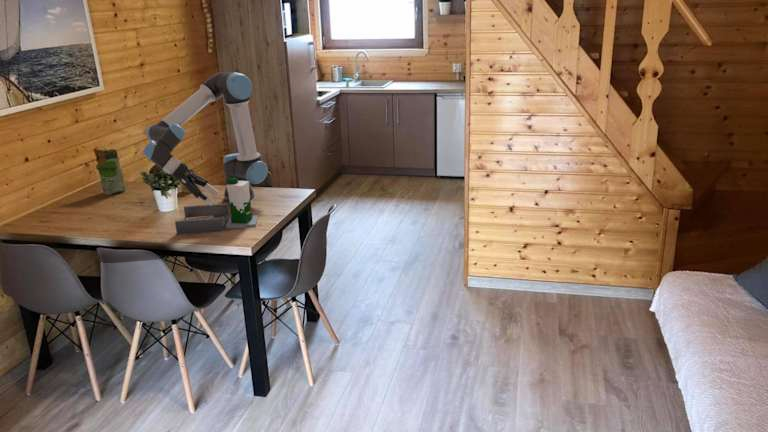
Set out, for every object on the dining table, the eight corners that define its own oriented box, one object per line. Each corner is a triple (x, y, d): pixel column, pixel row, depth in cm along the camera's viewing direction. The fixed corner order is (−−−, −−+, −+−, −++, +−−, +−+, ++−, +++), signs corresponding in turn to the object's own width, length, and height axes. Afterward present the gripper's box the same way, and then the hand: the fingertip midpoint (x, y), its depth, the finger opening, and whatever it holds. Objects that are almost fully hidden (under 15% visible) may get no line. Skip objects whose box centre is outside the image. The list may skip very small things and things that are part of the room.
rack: (186, 218, 299) (184, 206, 297) (229, 215, 301) (227, 203, 299) (177, 234, 278) (175, 221, 276) (223, 231, 280) (221, 218, 278)
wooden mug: (180, 187, 349) (175, 155, 343) (202, 188, 346) (198, 156, 340) (171, 192, 341) (166, 160, 335) (194, 193, 338) (189, 160, 332)
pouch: (127, 193, 343) (119, 147, 334) (103, 197, 337) (95, 151, 328) (123, 188, 352) (115, 144, 343) (100, 192, 346) (91, 147, 337)
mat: (229, 218, 296) (229, 216, 295) (258, 216, 297) (257, 214, 296) (226, 228, 283) (226, 226, 283) (255, 226, 285) (255, 224, 284)
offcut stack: (185, 227, 287) (183, 217, 285) (221, 224, 288) (220, 214, 287) (182, 232, 281) (181, 221, 280) (219, 229, 283) (218, 219, 281)
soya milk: (236, 217, 294) (231, 175, 288) (255, 217, 292) (250, 176, 286) (228, 223, 286) (223, 181, 280) (247, 224, 284) (242, 181, 278)
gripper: (176, 167, 291) (213, 196, 297) (164, 182, 268) (205, 213, 274) (186, 155, 290) (223, 185, 296) (175, 169, 266) (216, 201, 273)
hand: (214, 198), depth 285 cm, fingers open, 13 cm apart
